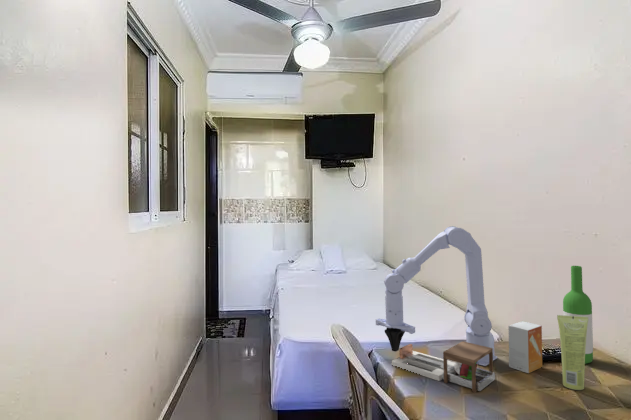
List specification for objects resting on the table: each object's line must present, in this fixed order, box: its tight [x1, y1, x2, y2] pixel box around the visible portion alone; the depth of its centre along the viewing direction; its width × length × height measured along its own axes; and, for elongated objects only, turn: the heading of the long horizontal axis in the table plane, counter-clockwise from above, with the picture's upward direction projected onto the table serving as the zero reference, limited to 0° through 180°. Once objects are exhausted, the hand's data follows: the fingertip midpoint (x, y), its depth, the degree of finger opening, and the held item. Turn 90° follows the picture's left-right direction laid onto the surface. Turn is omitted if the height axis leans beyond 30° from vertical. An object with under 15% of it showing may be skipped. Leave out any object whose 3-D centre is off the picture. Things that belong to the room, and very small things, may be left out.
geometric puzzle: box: [454, 362, 483, 381], centre depth 114 cm, size 7×7×8 cm
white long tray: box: [398, 343, 496, 392], centre depth 120 cm, size 10×27×4 cm, turn 44°
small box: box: [507, 320, 543, 374], centre depth 122 cm, size 8×6×13 cm
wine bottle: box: [562, 265, 594, 365], centre depth 126 cm, size 8×8×30 cm
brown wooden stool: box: [442, 340, 494, 394], centre depth 114 cm, size 12×9×9 cm
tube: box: [556, 314, 588, 391], centre depth 108 cm, size 6×5×20 cm
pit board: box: [391, 350, 456, 382], centre depth 124 cm, size 12×16×2 cm
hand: (395, 350), depth 132 cm, fingers closed
